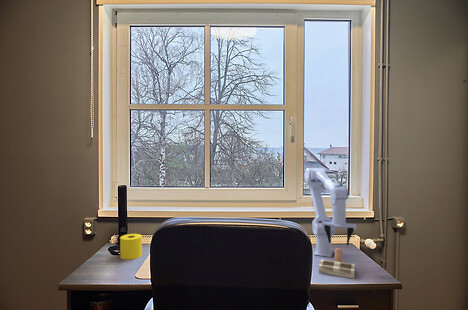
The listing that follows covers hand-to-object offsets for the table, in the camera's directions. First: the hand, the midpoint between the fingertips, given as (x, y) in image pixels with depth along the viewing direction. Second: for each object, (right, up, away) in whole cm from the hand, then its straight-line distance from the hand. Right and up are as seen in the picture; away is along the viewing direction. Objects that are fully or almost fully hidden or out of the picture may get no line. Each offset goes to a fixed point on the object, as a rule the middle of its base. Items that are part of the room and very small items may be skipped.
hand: (338, 243), depth 135 cm
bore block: (-3, -10, -8) cm, 13 cm away
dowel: (0, -10, 0) cm, 10 cm away
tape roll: (-98, -10, +11) cm, 99 cm away
